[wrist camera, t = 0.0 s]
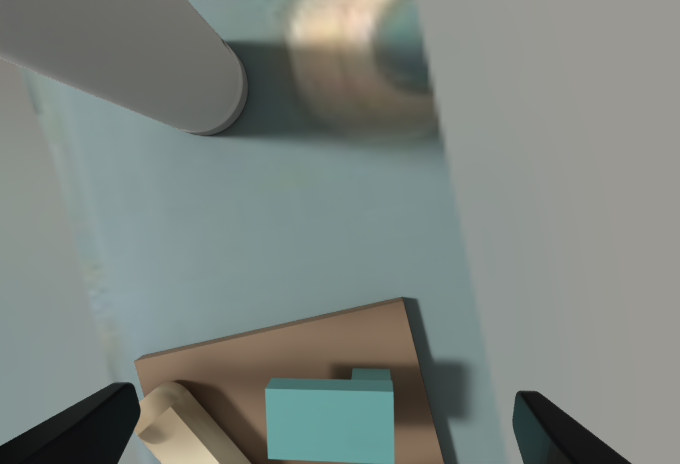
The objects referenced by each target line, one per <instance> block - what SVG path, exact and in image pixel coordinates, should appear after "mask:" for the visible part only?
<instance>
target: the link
mask: <svg viewBox="0 0 680 464" xmlns="http://www.w3.org/2000/svg"><path fill="white" fill-rule="evenodd" d="M139 404H140V408H141V414H140V418H139V421H138V423H137V425H136V427H135V429H134V431H135V433H136V434H137V435H138V437H139V438H140V439H141V440H142V441H143V442H144V444H145V445H146V446H147V447H148V448H149V449H150V450H151V452H152V453H153V454H154V455H155V456H156V457H157V459H158V460H159V461H160V462H161V463H162V464H251V463H250V461H249V460H248V459H247V458H246V457H245V456H244V455H243V453H242V452H241V451H240V450H239V449H238V448H237V446H236V445H235V444H234V443H233V442H232V441H231V440H230V438H229V437H228V436H227V435H226V434H225V433H224V431H223V430H222V429H221V428H220V427H219V426H218V425H217V423H216V422H215V421H214V420H213V419H212V418H211V417H210V415H209V414H208V413H207V412H206V411H205V410H204V408H203V407H202V406H201V405H200V404H199V403H198V402H197V400H196V399H195V398H194V397H193V396H192V395H191V393H190V392H189V391H188V390H187V389H186V388H185V387H184V386H182V385H181V384H178V383H175V382H166V383H163V384H161V385H159V386H158V387H157V388H155V389H154V390H153V391H152V392H151V393H149V394H148V395H147V396H146V397H145V398H143V399H142V400H141V401H140V402H139Z"/></svg>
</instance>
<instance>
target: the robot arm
mask: <svg viewBox="0 0 680 464" xmlns="http://www.w3.org/2000/svg"><path fill="white" fill-rule="evenodd" d="M140 414H141V408H140V404H139V400H138V397H137V394H136V390H135V387H134V385H133V384H132V383H129V382H116V383H112V384H110V385H109V386H107V387H105V388H103V389H101V390H100V391H98V392H96V393H94V394H92V395H91V396H89V397H87V398H85V399H84V400H82V401H80V402H78V403H76V404H75V405H73V406H71V407H69V408H67V409H66V410H64V411H62V412H60V413H58V414H57V415H55V416H53V417H51V418H49V419H48V420H46V421H44V422H42V423H40V424H39V425H37V426H35V427H33V428H31V429H30V430H28V431H26V432H24V433H22V434H21V435H19V436H17V437H15V438H14V439H12V440H10V441H8V442H7V443H5V444H3V445H1V446H0V464H118V462H119V459H120V458H121V455H122V453H123V451H124V449H125V447H126V445H127V443H128V441H129V439H130V437H131V435H132V433H133V431H134V429H135V427H136V425H137V423H138V421H139V418H140ZM513 429H514V433H515V437H516V440H517V443H518V446H519V450H520V453H521V456H522V459H523V463H524V464H631V463H630V462H629V461H628V460H626V459H625V458H624V457H622V456H621V455H619V454H618V453H617V452H615V450H613V449H612V448H611V447H609V446H608V445H607V444H605V443H604V442H603V441H602V440H600V439H599V438H598V437H596V436H595V435H594V434H592V433H591V432H590V431H589V430H587V429H586V428H585V427H583V426H582V425H581V424H579V423H578V422H577V421H576V420H574V419H573V418H572V417H570V416H569V415H568V414H566V413H565V412H564V411H563V410H561V409H560V408H559V407H557V406H556V405H555V404H553V403H552V402H551V401H550V400H548V399H547V398H546V397H544V396H543V395H542V394H540V393H539V392H537V391H518V392H517V394H516V397H515V404H514V412H513Z"/></svg>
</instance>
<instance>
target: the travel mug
mask: <svg viewBox="0 0 680 464" xmlns="http://www.w3.org/2000/svg"><path fill="white" fill-rule="evenodd" d="M0 58H1V59H3V60H6V61H8V62H11V63H13V64H16V65H18V66H21V67H23V68H26V69H28V70H31V71H33V72H36V73H38V74H41V75H43V76H46V77H48V78H51V79H53V80H56V81H58V82H61V83H63V84H66V85H69V86H71V87H74V88H76V89H79V90H81V91H84V92H86V93H89V94H91V95H94V96H96V97H99V98H101V99H104V100H106V101H109V102H111V103H114V104H116V105H119V106H121V107H124V108H126V109H129V110H132V111H134V112H137V113H139V114H142V115H144V116H147V117H149V118H152V119H154V120H157V121H159V122H162V123H164V124H167V125H169V126H172V127H175V128H177V129H179V130H182V131H184V132H187V133H190V134H194V135H204V136H205V135H212V134H215V133H218V132H221V131H223V130H224V129H226V128H228V127H229V126H230V125H231V124H232V123H233V122H234V121H236V119H237V118H238V116H239V115H240V114H241V112H242V110H243V108H244V106H245V103H246V99H247V94H248V81H247V75H246V72H245V69H244V66H243V64H242V62H241V61H240V59H239V57H238V56H237V55H236V54H235V53H234V52H233V50H232V49H231V48H230V47H229V46H228V45H227V44H226V43H225V42H224V41H223V39H222V38H221V37H220V36H219V35H218V34H217V33H216V32H215V30H214V29H213V28H212V27H211V26H210V25H209V24H208V23H207V22H206V20H205V19H204V18H203V17H202V16H201V15H200V14H199V13H198V12H197V10H196V9H195V8H194V7H193V6H192V5H191V4H190V3H189V2H188V1H187V0H0Z"/></svg>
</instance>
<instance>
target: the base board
mask: <svg viewBox="0 0 680 464" xmlns="http://www.w3.org/2000/svg"><path fill="white" fill-rule="evenodd" d="M134 363H135V367H136V370H137V374H138V377H139V380H140V384H141V387H142V391H143V394H144V398H145V397H146V396H147V395H148V394H149V393H151V392H152V391H153V390H154V389H155V388H157V387H158V386H159V385H161V384H163V383H166V382H175V383H178V384H181V385H182V386H184V387H185V388H186V389H187V390H188V391H189V392H190V393H191V395H192V396H193V397H194V398H195V399H196V400H197V402H198V403H199V404H200V405H201V406H202V407H203V408H204V410H205V411H206V412H207V413H208V414H209V415H210V417H211V418H212V419H213V420H214V421H215V422H216V423H217V425H218V426H219V427H220V428H221V429H222V430H223V431H224V433H225V434H226V435H227V436H228V437H229V438H230V440H231V441H232V442H233V443H234V444H235V445H236V446H237V448H238V449H239V450H240V451H241V452H242V453H243V455H244V456H245V457H246V458H247V459H248V460H249V461H250V463H251V464H374V463H351V462H328V461H305V460H283V459H268V447H267V422H266V398H265V388H266V386H267V385H268V383H269V381H270V380H271V378H294V379H340V380H351V378H352V370H353V368H362V369H390V376H391V381H392V384H393V398H394V464H444V462H443V458H442V454H441V450H440V446H439V442H438V438H437V434H436V430H435V426H434V422H433V418H432V414H431V410H430V406H429V402H428V398H427V394H426V390H425V386H424V382H423V378H422V374H421V370H420V366H419V362H418V359H417V355H416V351H415V347H414V343H413V339H412V335H411V331H410V327H409V323H408V319H407V315H406V311H405V307H404V303H403V299H402V297H399V298H395V299H390V300H386V301H381V302H377V303H372V304H368V305H364V306H359V307H355V308H350V309H346V310H341V311H337V312H333V313H328V314H324V315H319V316H315V317H311V318H306V319H302V320H297V321H293V322H288V323H284V324H280V325H275V326H271V327H266V328H262V329H257V330H253V331H249V332H244V333H240V334H235V335H231V336H226V337H222V338H218V339H213V340H209V341H204V342H200V343H196V344H191V345H187V346H182V347H178V348H173V349H169V350H165V351H160V352H156V353H151V354H147V355H143V356H141V357H140V358H138V359H137V360H135V361H134Z"/></svg>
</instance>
